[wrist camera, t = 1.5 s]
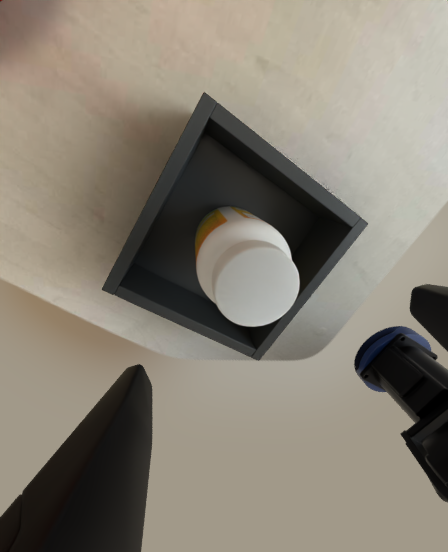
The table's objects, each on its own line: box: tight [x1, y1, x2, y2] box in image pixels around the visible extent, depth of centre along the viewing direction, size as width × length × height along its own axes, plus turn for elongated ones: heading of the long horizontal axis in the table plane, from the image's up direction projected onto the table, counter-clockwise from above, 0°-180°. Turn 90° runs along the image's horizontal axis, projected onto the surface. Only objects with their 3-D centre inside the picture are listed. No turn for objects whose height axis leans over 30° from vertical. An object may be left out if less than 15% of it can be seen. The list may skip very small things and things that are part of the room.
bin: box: [102, 92, 368, 361], centre depth 18 cm, size 13×13×5 cm
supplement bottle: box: [195, 206, 300, 327], centre depth 15 cm, size 5×5×10 cm
